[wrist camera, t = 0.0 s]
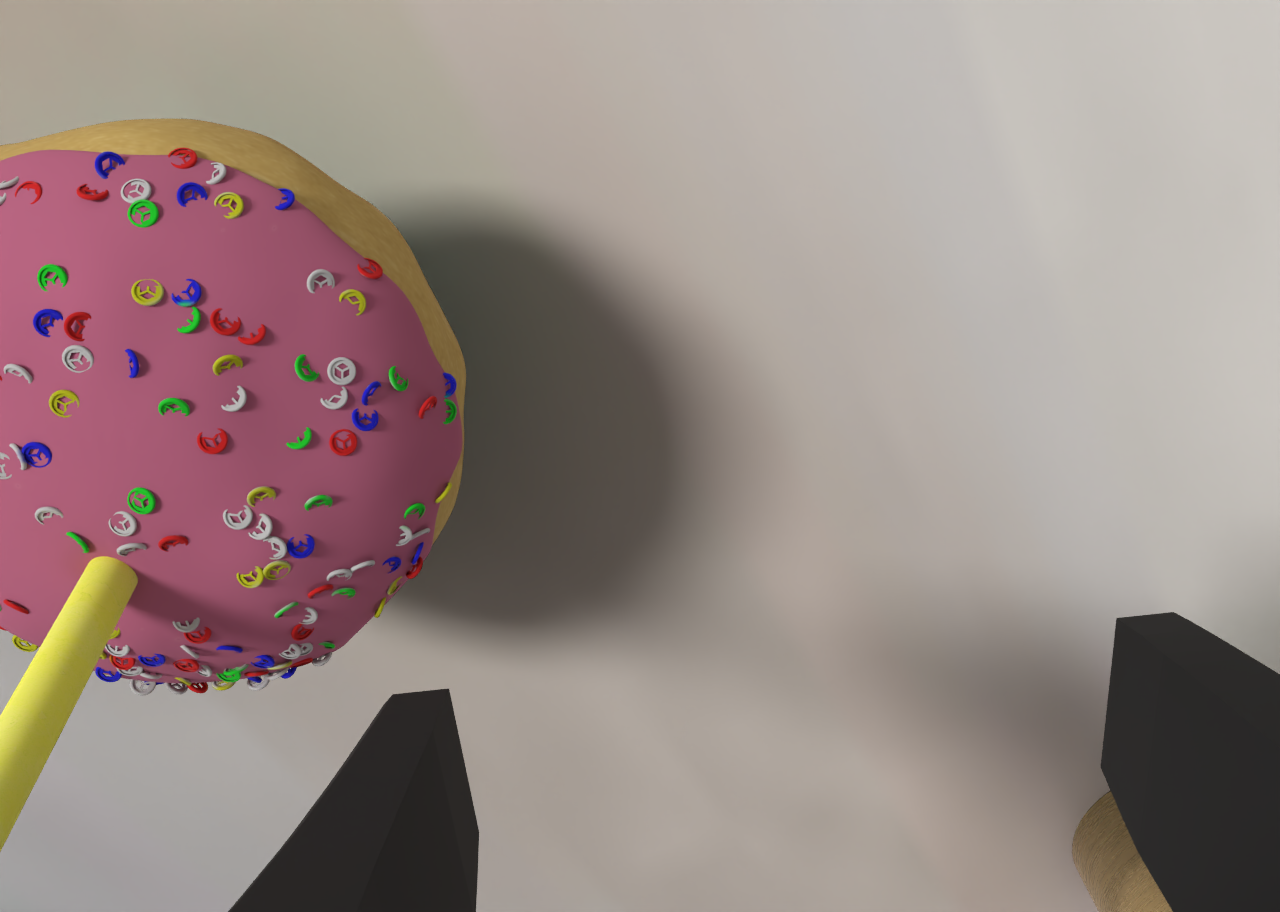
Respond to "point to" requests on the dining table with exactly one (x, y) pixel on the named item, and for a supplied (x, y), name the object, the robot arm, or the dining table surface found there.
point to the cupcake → (204, 417)
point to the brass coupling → (1113, 863)
